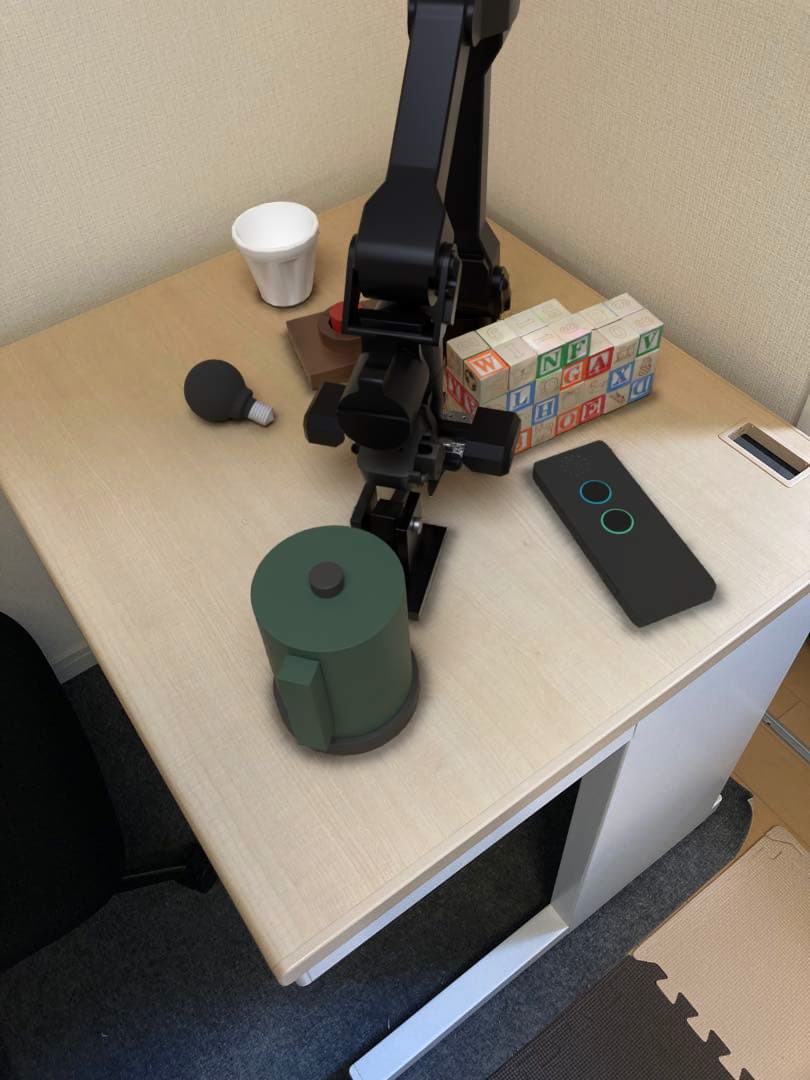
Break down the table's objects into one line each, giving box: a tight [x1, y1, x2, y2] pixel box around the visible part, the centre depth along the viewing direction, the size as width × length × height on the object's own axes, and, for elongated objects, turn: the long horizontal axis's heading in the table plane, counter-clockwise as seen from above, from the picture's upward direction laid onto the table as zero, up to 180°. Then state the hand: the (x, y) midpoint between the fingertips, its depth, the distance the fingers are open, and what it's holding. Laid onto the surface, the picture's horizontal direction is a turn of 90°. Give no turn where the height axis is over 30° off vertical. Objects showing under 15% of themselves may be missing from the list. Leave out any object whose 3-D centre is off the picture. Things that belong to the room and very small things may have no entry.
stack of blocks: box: [445, 292, 665, 456], centre depth 90 cm, size 21×6×12 cm, turn 118°
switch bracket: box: [349, 482, 448, 622], centre depth 80 cm, size 10×8×9 cm
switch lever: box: [370, 480, 428, 542], centre depth 82 cm, size 12×3×3 cm, turn 164°
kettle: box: [249, 524, 421, 756], centre depth 69 cm, size 14×12×16 cm
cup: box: [230, 201, 320, 309], centre depth 107 cm, size 10×10×9 cm
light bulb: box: [183, 358, 274, 427], centre depth 95 cm, size 6×6×10 cm
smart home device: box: [532, 439, 717, 628], centre depth 84 cm, size 8×2×20 cm
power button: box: [330, 300, 362, 332], centre depth 100 cm, size 4×4×2 cm
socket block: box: [285, 299, 380, 391], centre depth 102 cm, size 12×10×4 cm
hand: (415, 490), depth 87 cm, fingers closed on switch lever, 3 cm apart
